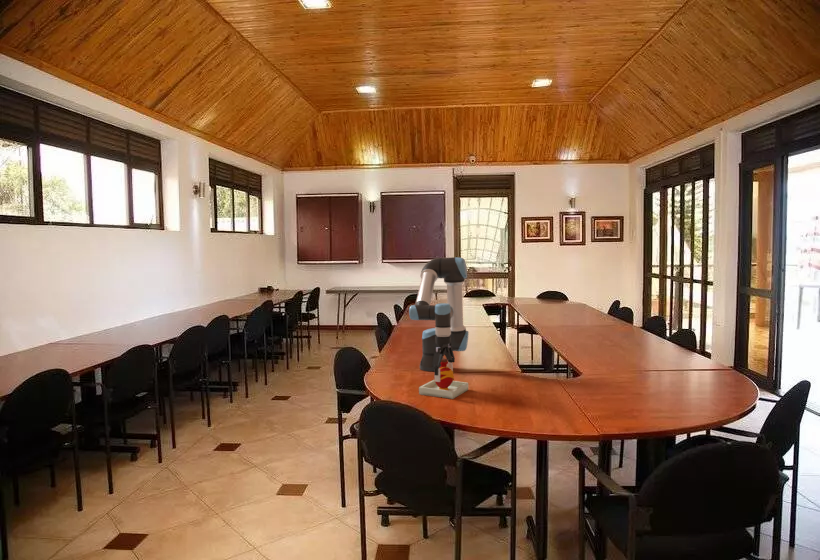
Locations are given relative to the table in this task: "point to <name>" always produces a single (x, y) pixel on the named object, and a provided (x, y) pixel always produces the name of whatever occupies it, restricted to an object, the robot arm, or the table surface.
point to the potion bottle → (445, 376)
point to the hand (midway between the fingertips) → (443, 378)
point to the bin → (433, 390)
